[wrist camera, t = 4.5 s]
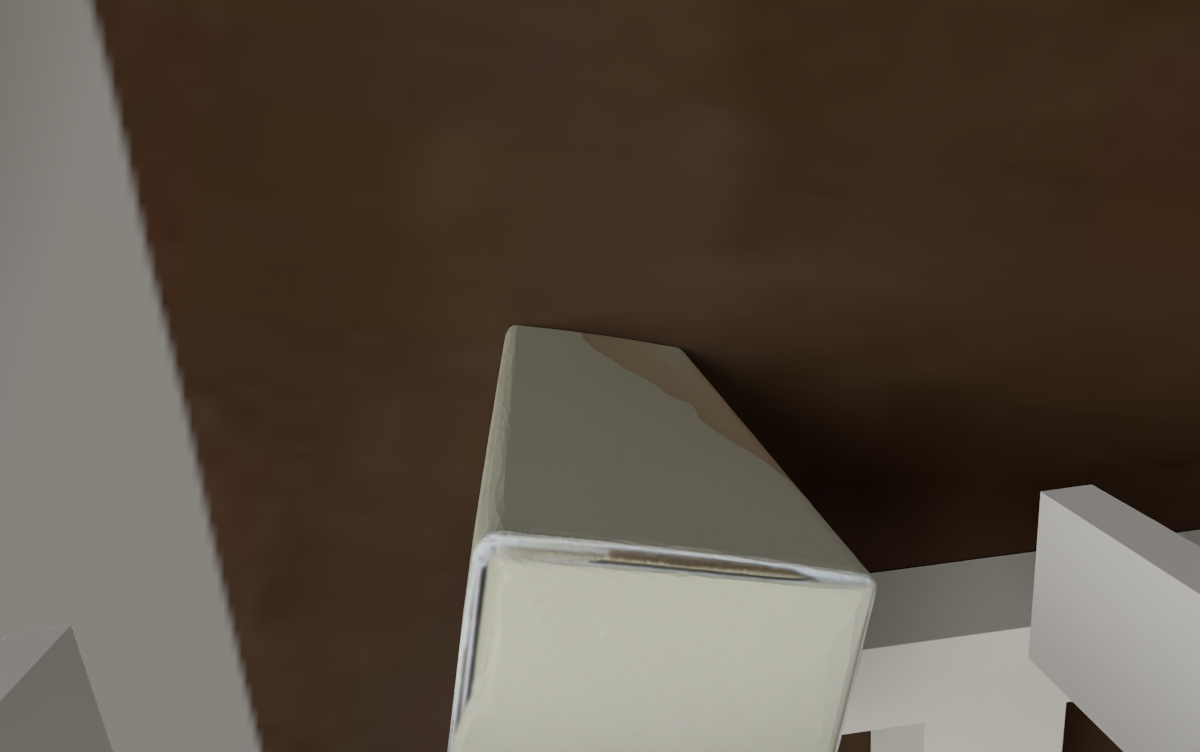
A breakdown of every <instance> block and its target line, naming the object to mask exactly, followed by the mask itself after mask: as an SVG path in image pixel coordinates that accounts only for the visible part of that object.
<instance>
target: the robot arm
mask: <svg viewBox="0 0 1200 752" xmlns="http://www.w3.org/2000/svg"><path fill="white" fill-rule="evenodd" d="M1028 658H1029V659H1030V660H1031V661H1032V662H1033V663H1034V664H1035V665H1036V666H1037V667H1038V668H1039V669H1040V670H1041V671H1042V672H1043V673H1044V674H1045V675H1046V676H1047V677H1048V678H1049V679H1050V680H1051V681H1052V682H1053V683H1054V684H1055V685H1056V686H1057V687H1058V688H1059V689H1060V690H1061V691H1062V692H1063V693H1064V694H1065V695H1066V696H1067V697H1068V698H1069V699H1070V700H1071V701H1072V702H1073V703H1074V704H1075V705H1076V706H1077V707H1078V708H1079V709H1081V710H1082V711H1083V712H1084V713H1085V714H1086V715H1087V716H1088V717H1089V718H1090V719H1091V720H1092V721H1093V722H1094V723H1095V724H1096V725H1097V726H1098V727H1099V728H1100V729H1101V730H1102V731H1103V732H1104V733H1105V734H1106V735H1107V736H1108V737H1109V738H1110V739H1111V740H1112V741H1113V742H1114V743H1115V744H1116V745H1117V746H1118V747H1119V748H1120V749H1121V750H1122V751H1123V752H1200V547H1199V546H1198V545H1196V544H1194V543H1193V542H1191V541H1189V540H1187V539H1186V538H1184V537H1182V536H1180V535H1179V534H1177V533H1175V532H1173V531H1172V530H1170V529H1168V528H1166V527H1165V526H1163V525H1161V524H1160V523H1158V522H1156V521H1154V520H1153V519H1151V518H1149V517H1147V516H1146V515H1144V514H1142V513H1140V512H1139V511H1137V510H1135V509H1134V508H1132V507H1130V506H1128V505H1127V504H1125V503H1123V502H1121V501H1120V500H1118V499H1116V498H1114V497H1113V496H1111V495H1109V494H1107V493H1106V492H1104V491H1102V490H1101V489H1099V488H1097V487H1095V486H1094V485H1085V486H1077V487H1070V488H1063V489H1056V490H1048V491H1041V493H1040V506H1039V520H1038V534H1037V548H1036V561H1035V575H1034V589H1033V603H1032V616H1031V630H1030V644H1029V657H1028ZM0 752H113V751H112V748H111V746H110V742H109V739H108V736H107V733H106V730H105V727H104V724H103V721H102V718H101V715H100V712H99V709H98V706H97V703H96V700H95V697H94V694H93V691H92V688H91V685H90V682H89V679H88V676H87V673H86V670H85V667H84V664H83V661H82V658H81V655H80V652H79V649H78V646H77V643H76V640H75V637H74V634H73V631H72V628H71V626H63V627H56V628H49V629H41V630H34V631H26V632H19V633H12V634H8V635H7V636H6V637H5V638H4V639H3V640H2V641H0Z"/></svg>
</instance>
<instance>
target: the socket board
mask: <svg viewBox="0 0 1200 752" xmlns="http://www.w3.org/2000/svg"><path fill="white" fill-rule="evenodd" d="M1177 534H1179V535H1180V536H1182V537H1184V538H1186V539H1187V540H1189V541H1191V542H1193V543H1194V544H1196V545H1198V546H1199V547H1200V530H1194V531H1186V532H1179V533H1177ZM1035 561H1036V551H1035V552H1028V553H1020V554H1013V555H1005V556H997V557H990V558H982V559H975V560H967V561H960V562H952V563H945V564H937V565H929V566H922V567H914V568H907V569H899V570H892V571H884V572H877V573H870V574H871V575H872V576H873V578H874V579H875V581H876V583H877V587H876V596H875V600H874V604H873V608H872V612H871V615H870V619H869V623H868V627H867V631H866V636H865V641H864V645H863V650H862V654H861V659H860V663H859V667H858V671H857V675H856V679H855V683H854V687H853V691H852V695H851V699H850V703H849V707H848V712H847V716H846V721H845V725H844V729H843V733H842V735H843V734H850V733H857V732H864V731H871V752H1062V746H1063V734H1064V723H1065V712H1066V702H1072V701H1071V700H1070V699H1069V698H1068V697H1067V696H1066V695H1065V694H1064V693H1063V692H1062V691H1061V690H1060V689H1059V688H1058V687H1057V686H1056V685H1055V684H1054V683H1053V682H1052V681H1051V680H1050V679H1049V678H1048V677H1047V676H1046V675H1045V674H1044V673H1043V672H1042V671H1041V670H1040V669H1039V668H1038V667H1037V666H1036V665H1035V664H1034V663H1033V662H1032V661H1031V660H1030V659H1029V658H1028V657H1029V644H1030V630H1031V616H1032V603H1033V589H1034V575H1035Z"/></svg>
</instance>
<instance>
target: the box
mask: <svg viewBox="0 0 1200 752" xmlns="http://www.w3.org/2000/svg"><path fill="white" fill-rule="evenodd" d="M876 587H877V583H876V581H875V579H874V578H873V576H872V575H871V574H870V573H869V572H868V571H867V569H866V568H865V567H864V566H863V565H862V564H861V563H860V562H859V560H858V559H857V558H856V557H855V555H854V554H853V553H852V552H851V551H850V549H849V548H848V547H847V546H846V545H845V544H844V543H843V541H842V540H841V539H840V538H839V537H838V536H837V534H836V533H835V532H834V531H833V530H832V529H831V527H830V526H829V525H828V524H827V522H826V521H825V520H824V519H823V518H822V516H821V515H820V514H819V513H818V512H817V511H816V509H815V508H814V507H813V506H812V504H811V503H810V502H809V500H808V499H807V498H806V497H805V496H804V495H803V494H802V493H801V492H800V490H799V489H798V488H797V487H796V485H795V484H794V483H793V482H792V481H791V480H790V478H789V477H788V476H787V475H786V474H785V472H784V471H783V470H782V469H781V467H780V466H779V465H778V464H777V463H776V461H775V460H774V459H773V458H772V457H771V456H770V454H769V453H768V452H767V451H766V450H765V448H764V447H763V446H762V445H761V443H760V442H759V441H758V440H757V439H756V437H755V436H754V435H753V434H752V433H751V431H750V430H749V429H748V428H747V427H746V426H745V424H744V423H743V422H742V421H741V420H740V419H739V417H738V416H737V415H736V414H735V413H734V412H733V410H732V409H731V408H730V407H729V405H728V404H727V403H726V402H725V400H724V399H723V398H722V397H721V396H720V395H719V393H718V392H717V391H716V390H715V389H714V387H713V386H712V385H711V384H710V383H709V382H708V380H707V379H706V378H705V377H704V376H703V374H702V373H701V372H700V371H699V370H698V368H697V367H696V366H695V365H694V364H693V363H692V361H691V360H690V359H689V358H688V357H687V355H686V354H685V353H684V352H683V351H682V350H681V349H680V348H676V347H671V346H665V345H659V344H653V343H648V342H642V341H636V340H629V339H623V338H616V337H610V336H603V335H595V334H588V333H580V332H572V331H565V330H557V329H548V328H539V327H530V326H521V325H514V326H512V327H510V329H509V330H508V331H507V334H506V337H505V342H504V348H503V354H502V360H501V366H500V372H499V377H498V384H497V390H496V396H495V403H494V409H493V415H492V421H491V426H490V432H489V439H488V445H487V452H486V458H485V465H484V471H483V477H482V484H481V490H480V496H479V503H478V510H477V516H476V523H475V529H474V536H473V544H472V551H471V558H470V566H469V573H468V581H467V589H466V596H465V604H464V612H463V621H462V630H461V639H460V648H459V656H458V665H457V674H456V683H455V691H454V700H453V709H452V718H451V726H450V735H449V744H448V752H838V748H839V744H840V741H841V737H842V733H843V729H844V725H845V721H846V716H847V712H848V707H849V703H850V699H851V695H852V691H853V687H854V683H855V679H856V675H857V671H858V667H859V663H860V659H861V654H862V650H863V645H864V641H865V636H866V631H867V627H868V623H869V619H870V615H871V612H872V608H873V604H874V600H875V596H876Z"/></svg>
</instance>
